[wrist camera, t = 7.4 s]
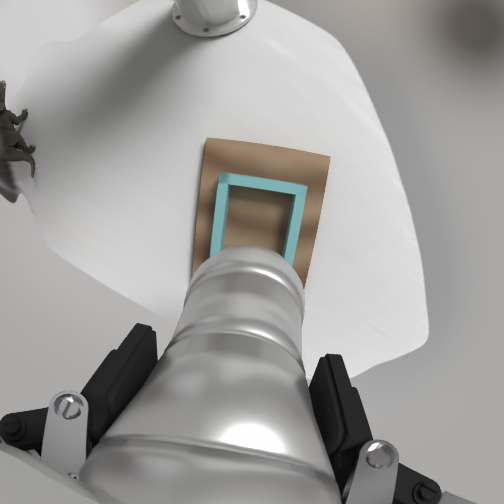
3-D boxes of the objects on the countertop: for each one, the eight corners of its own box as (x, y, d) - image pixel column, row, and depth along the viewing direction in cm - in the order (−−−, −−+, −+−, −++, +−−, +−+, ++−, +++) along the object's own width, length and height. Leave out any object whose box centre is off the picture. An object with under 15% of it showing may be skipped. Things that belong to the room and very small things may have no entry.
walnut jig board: (209, 138, 34) (201, 135, 30) (327, 156, 34) (336, 155, 30) (194, 277, 40) (186, 290, 36) (300, 293, 40) (304, 308, 36)
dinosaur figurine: (50, 172, 36) (4, 180, 25) (27, 195, 37) (-15, 206, 27) (28, 81, 30) (-10, 75, 20) (6, 107, 32) (-31, 106, 21)
